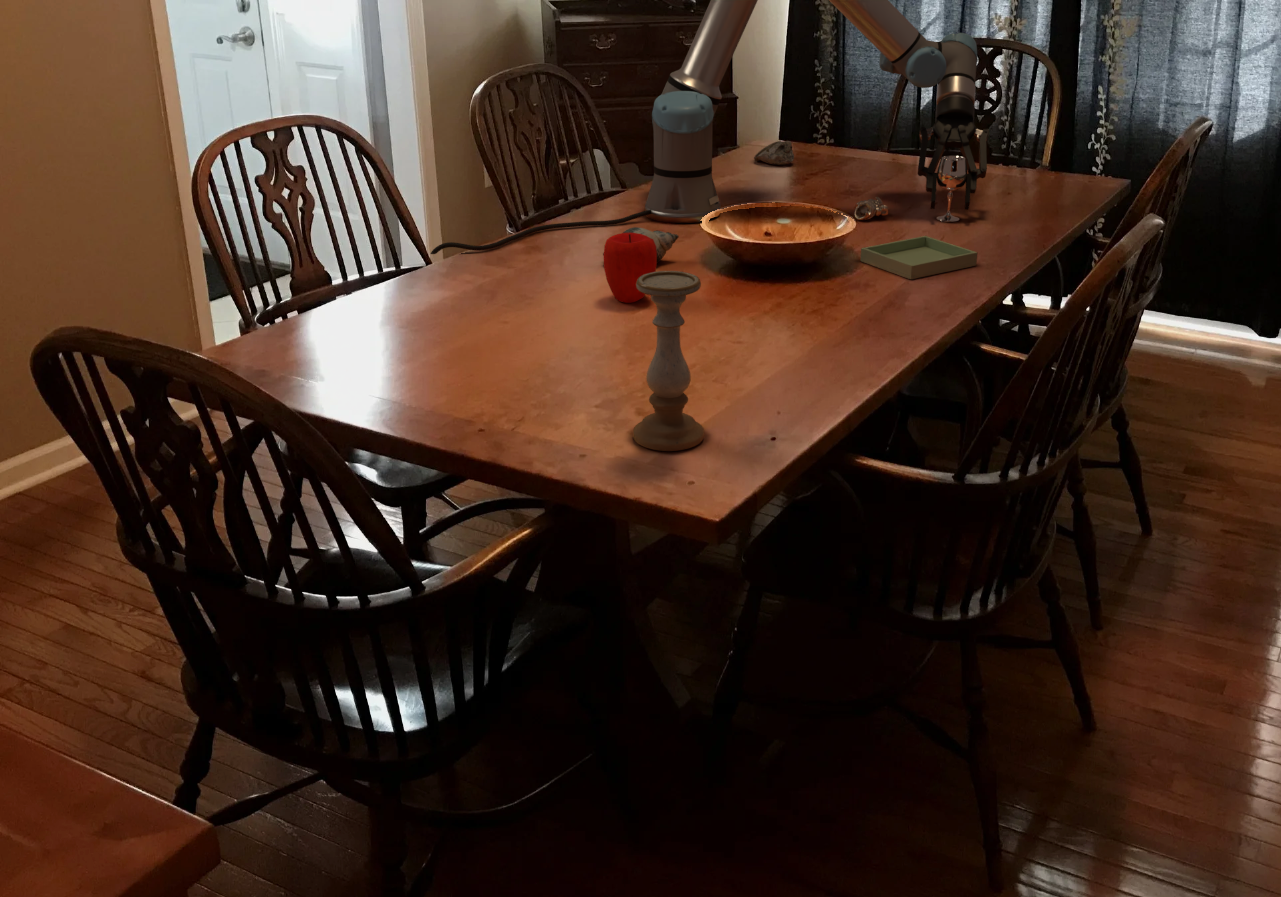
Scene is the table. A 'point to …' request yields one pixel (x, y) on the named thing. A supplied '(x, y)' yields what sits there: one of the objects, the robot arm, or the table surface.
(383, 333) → the table surface
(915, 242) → the tray
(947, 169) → the wineglass
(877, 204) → the ornament
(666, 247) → the seashell
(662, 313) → the candle holder
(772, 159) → the grey rock
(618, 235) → the apple
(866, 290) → the table surface
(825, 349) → the table surface
